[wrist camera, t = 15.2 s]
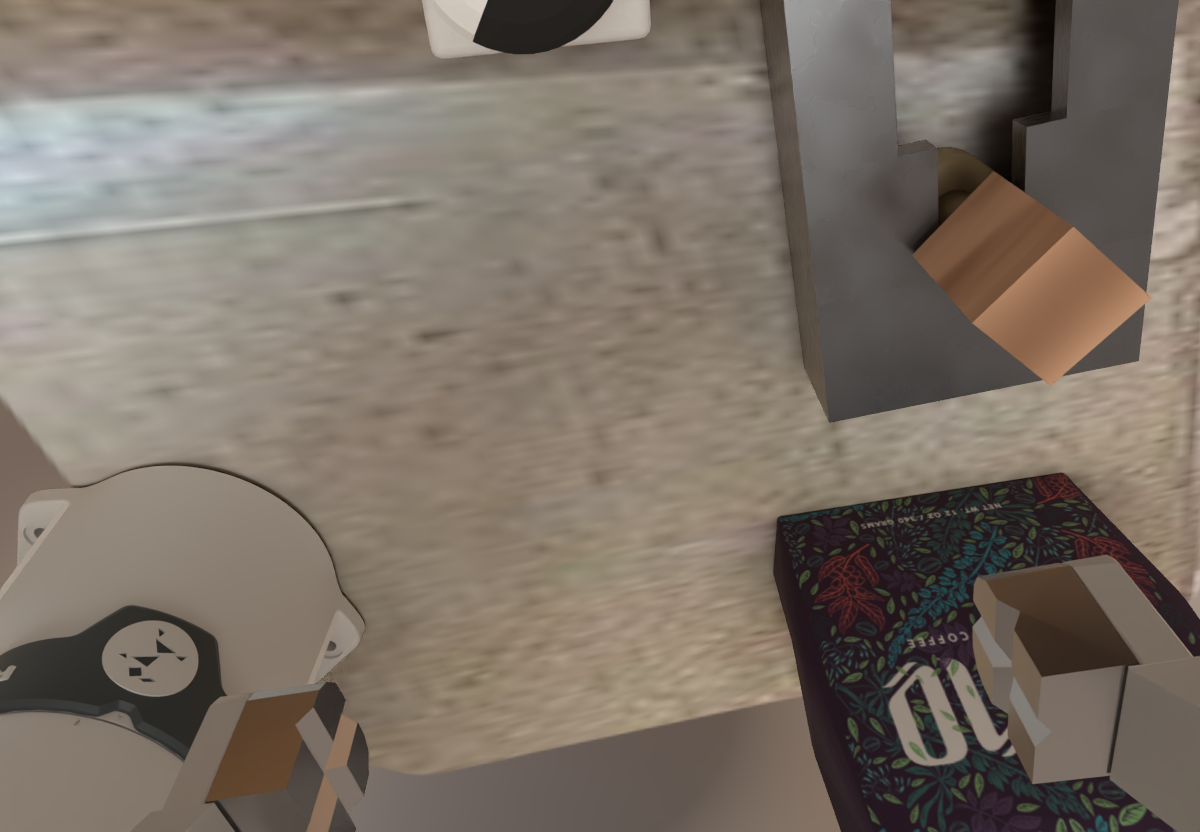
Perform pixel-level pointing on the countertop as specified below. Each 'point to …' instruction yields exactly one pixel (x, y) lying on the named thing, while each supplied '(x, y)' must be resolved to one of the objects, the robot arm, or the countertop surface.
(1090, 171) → the keyhole plate
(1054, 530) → the decorative box
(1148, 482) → the countertop surface
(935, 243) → the slider
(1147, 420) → the countertop surface
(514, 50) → the medicine bottle
